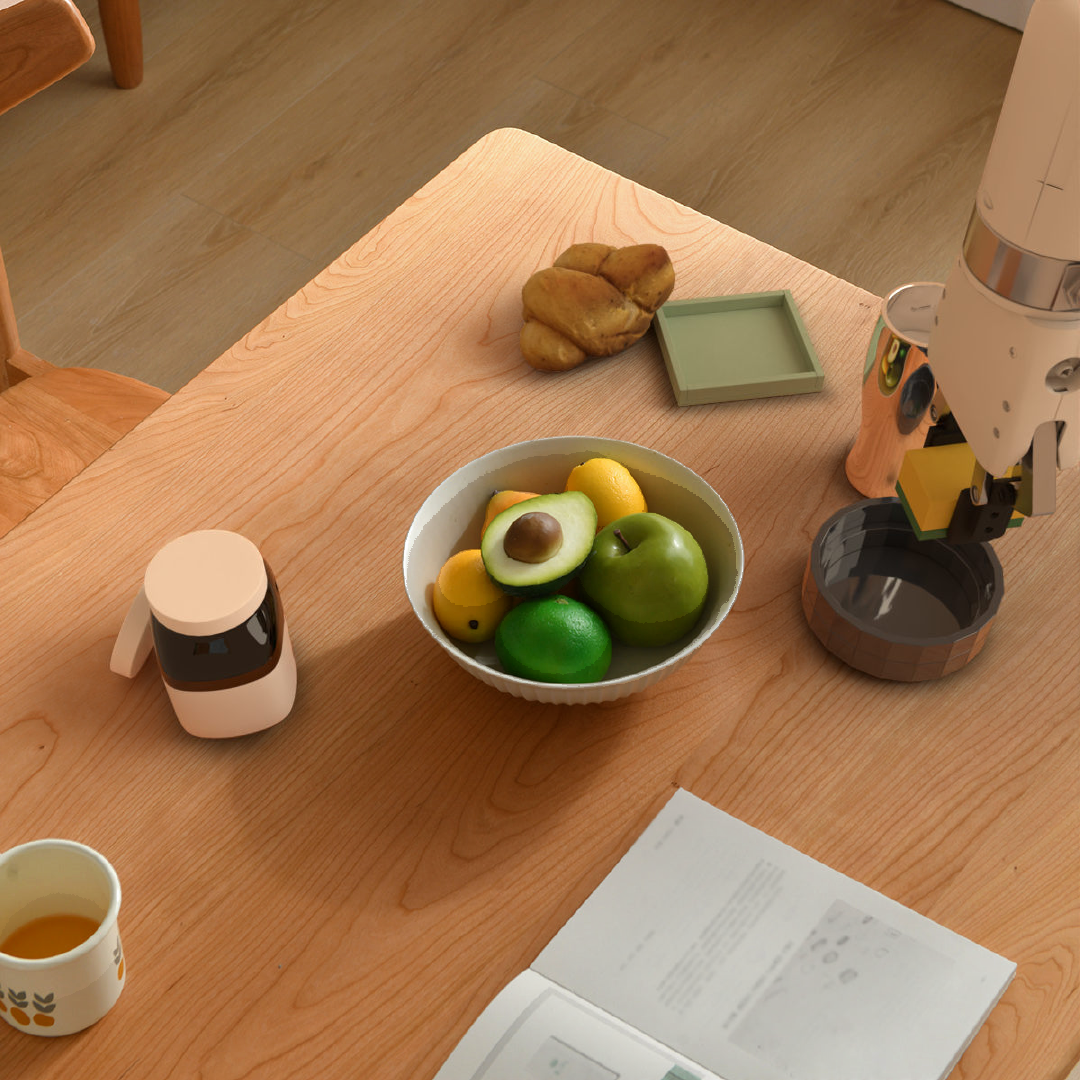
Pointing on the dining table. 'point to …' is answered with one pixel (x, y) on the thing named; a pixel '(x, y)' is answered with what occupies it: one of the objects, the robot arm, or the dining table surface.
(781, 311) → the sponge tray
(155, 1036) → the dining table surface
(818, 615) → the bowl
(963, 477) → the sponge
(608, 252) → the bread roll
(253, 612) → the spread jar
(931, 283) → the beer glass
